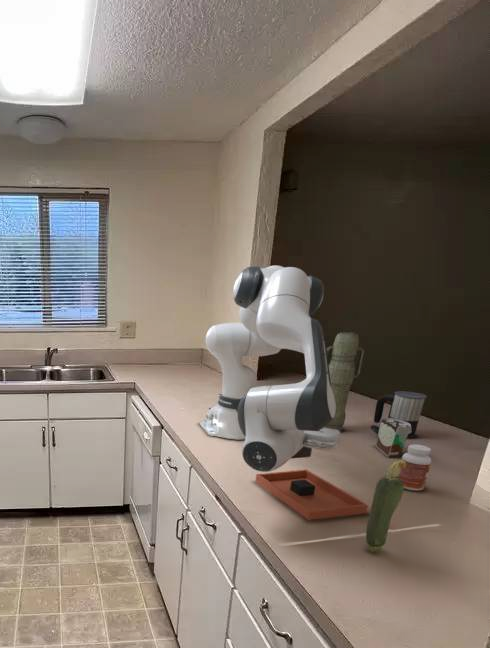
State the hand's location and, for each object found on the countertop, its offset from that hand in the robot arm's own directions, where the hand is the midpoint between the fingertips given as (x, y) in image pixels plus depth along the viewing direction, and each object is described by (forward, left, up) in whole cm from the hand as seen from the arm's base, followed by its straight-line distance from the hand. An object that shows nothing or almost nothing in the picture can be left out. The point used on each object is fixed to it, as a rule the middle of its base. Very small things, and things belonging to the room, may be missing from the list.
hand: (300, 424), depth 111 cm
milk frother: (-28, +61, -17) cm, 70 cm away
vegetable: (+31, -3, -17) cm, 35 cm away
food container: (-14, +47, -17) cm, 52 cm away
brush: (+1, -1, -8) cm, 8 cm away
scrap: (+6, -1, -16) cm, 17 cm away
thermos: (-40, +45, -17) cm, 63 cm away
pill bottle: (+8, +30, -17) cm, 36 cm away
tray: (+8, -1, -17) cm, 19 cm away
